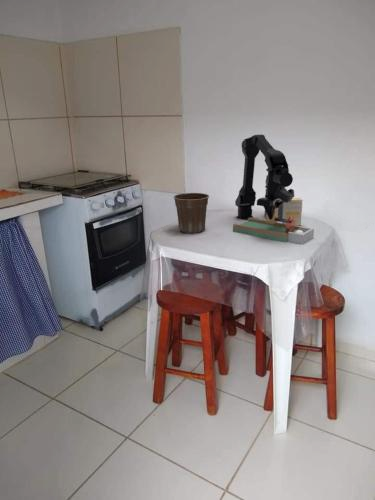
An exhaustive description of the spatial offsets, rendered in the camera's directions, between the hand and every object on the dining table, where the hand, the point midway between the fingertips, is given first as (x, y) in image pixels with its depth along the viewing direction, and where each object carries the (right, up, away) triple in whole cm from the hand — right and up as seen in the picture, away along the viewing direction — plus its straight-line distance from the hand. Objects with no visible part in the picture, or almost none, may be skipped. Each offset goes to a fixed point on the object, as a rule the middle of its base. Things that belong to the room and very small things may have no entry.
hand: (272, 218), depth 174 cm
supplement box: (+12, -3, +14) cm, 19 cm away
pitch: (+1, -7, +2) cm, 7 cm away
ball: (+10, -7, -6) cm, 14 cm away
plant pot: (-35, -5, +11) cm, 37 cm away
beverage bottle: (+7, +3, +29) cm, 30 cm away
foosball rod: (+3, -5, -1) cm, 6 cm away
